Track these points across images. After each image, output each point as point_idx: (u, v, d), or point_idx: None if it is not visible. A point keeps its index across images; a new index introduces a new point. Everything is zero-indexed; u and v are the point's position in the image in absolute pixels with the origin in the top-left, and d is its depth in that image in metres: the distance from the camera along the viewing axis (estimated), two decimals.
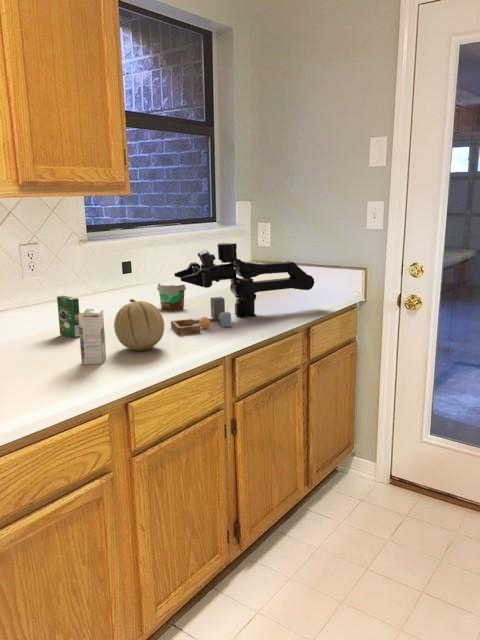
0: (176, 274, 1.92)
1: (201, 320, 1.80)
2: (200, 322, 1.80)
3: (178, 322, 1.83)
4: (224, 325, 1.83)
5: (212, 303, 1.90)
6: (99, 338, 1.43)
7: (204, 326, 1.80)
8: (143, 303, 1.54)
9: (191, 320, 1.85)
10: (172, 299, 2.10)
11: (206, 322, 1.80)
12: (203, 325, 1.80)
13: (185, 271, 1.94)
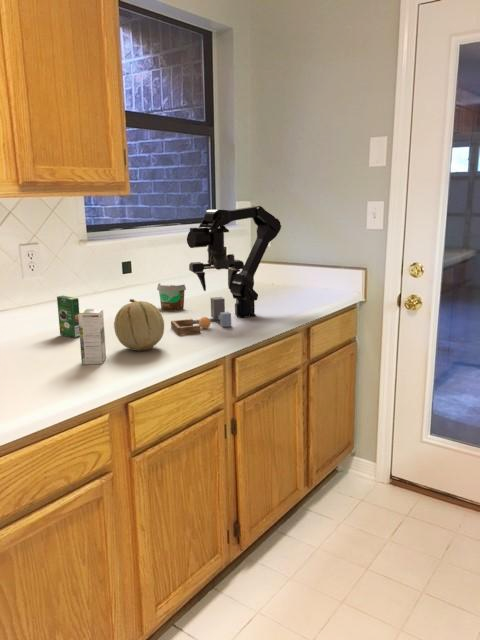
0: None
1: (201, 320, 1.80)
2: (200, 322, 1.80)
3: (178, 322, 1.83)
4: (224, 325, 1.83)
5: (212, 303, 1.90)
6: (99, 338, 1.43)
7: (204, 326, 1.80)
8: (143, 303, 1.54)
9: (191, 320, 1.85)
10: (172, 299, 2.10)
11: (206, 322, 1.80)
12: (203, 325, 1.80)
13: None
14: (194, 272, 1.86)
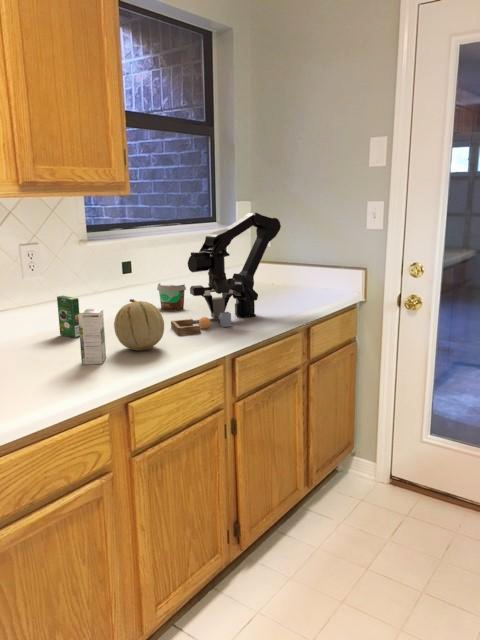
0: None
1: (201, 320, 1.80)
2: (200, 322, 1.80)
3: (178, 322, 1.83)
4: (224, 325, 1.83)
5: (212, 303, 1.90)
6: (99, 338, 1.43)
7: (204, 326, 1.80)
8: (143, 303, 1.54)
9: (191, 320, 1.85)
10: (172, 299, 2.10)
11: (206, 322, 1.80)
12: (203, 325, 1.80)
13: None
14: (201, 295, 1.89)
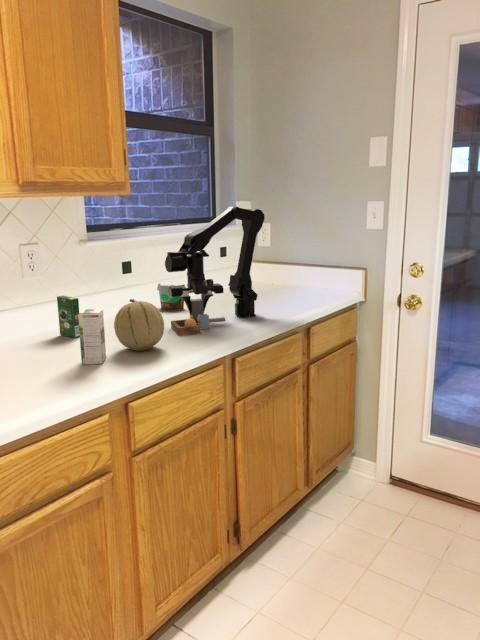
0: None
1: None
2: None
3: (178, 322, 1.83)
4: (202, 328, 1.80)
5: (191, 305, 1.88)
6: (99, 338, 1.43)
7: (194, 324, 1.79)
8: (143, 303, 1.54)
9: None
10: (172, 299, 2.10)
11: None
12: None
13: None
14: (180, 296, 1.86)
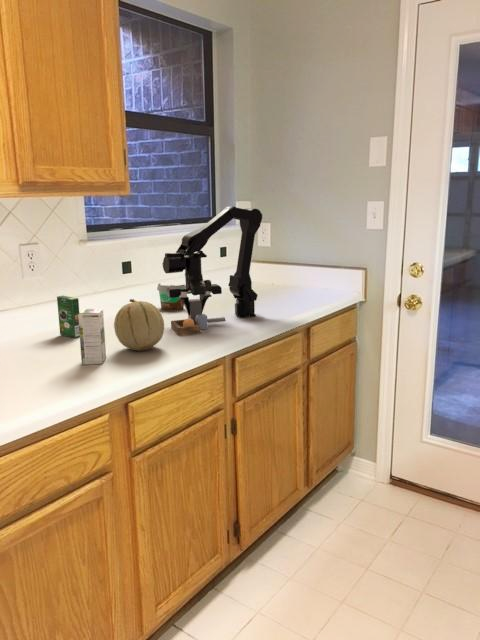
0: None
1: None
2: None
3: (178, 322, 1.83)
4: None
5: (189, 305, 1.88)
6: (99, 338, 1.43)
7: (192, 323, 1.78)
8: (143, 303, 1.54)
9: None
10: (172, 299, 2.10)
11: None
12: (192, 325, 1.79)
13: None
14: (178, 297, 1.86)
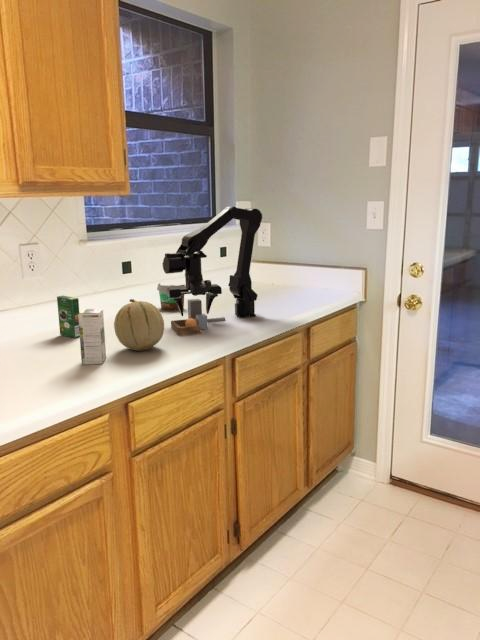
0: None
1: None
2: None
3: (178, 322, 1.83)
4: None
5: (189, 305, 1.88)
6: (99, 338, 1.43)
7: (195, 324, 1.79)
8: (143, 303, 1.54)
9: None
10: (172, 299, 2.10)
11: None
12: None
13: None
14: (171, 297, 1.85)
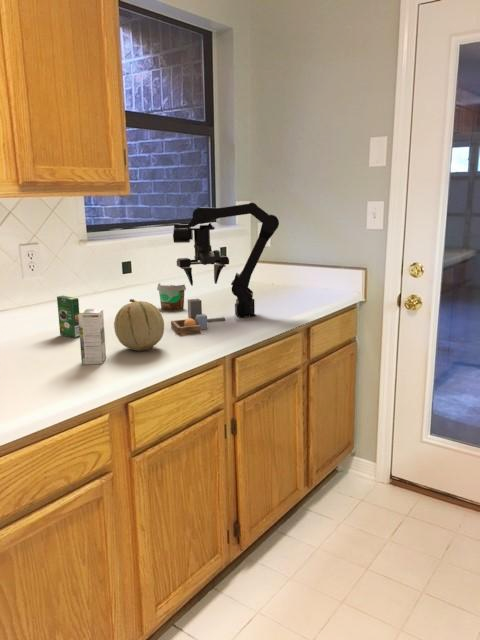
0: None
1: None
2: None
3: (178, 322, 1.83)
4: None
5: (189, 305, 1.88)
6: (99, 338, 1.43)
7: (194, 324, 1.79)
8: (143, 303, 1.54)
9: None
10: (172, 299, 2.10)
11: None
12: (194, 325, 1.79)
13: None
14: (181, 267, 1.94)
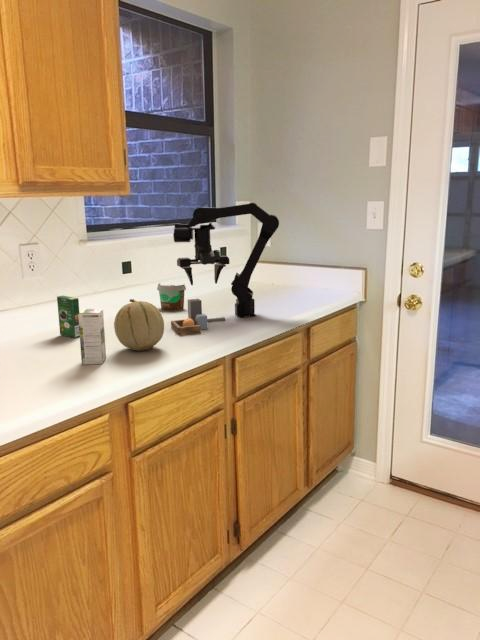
0: None
1: None
2: None
3: (178, 322, 1.83)
4: None
5: (189, 305, 1.88)
6: (99, 338, 1.43)
7: (192, 323, 1.78)
8: (143, 303, 1.54)
9: None
10: (172, 299, 2.10)
11: None
12: (192, 325, 1.79)
13: None
14: (181, 267, 1.95)
